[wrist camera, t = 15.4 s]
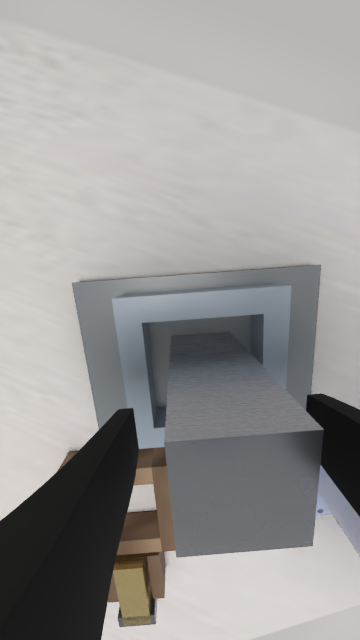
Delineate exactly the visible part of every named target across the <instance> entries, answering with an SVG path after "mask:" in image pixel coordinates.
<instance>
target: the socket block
mask: <svg viewBox="0 0 360 640" xmlns="http://www.w3.org/2000/svg"><path fill="white" fill-rule="evenodd" d="M77 452H78V451H75V452H69V453H68V455H67V456H66V458H65V460H64V461H63V463H62V465H61V466H60V468H59V470H60V469H61V468H62V467H63V466H64V465H65V464H66V463H67V462H68V461H69V460H70V459H71V458H72V457H73V456H74V455H75V454H76V453H77ZM59 470H58V471H59ZM58 471H57V472H58ZM143 484H154V492H155V500H156V508H157V511H148V512H136V513H127V514H126V518H125V522H124V527H123V531H122V535H121V539H120V543H119V547H118V551H117V555H126V554H138V553H147V561H148V567H149V574H150V581H151V588H152V594H153V599H156V598H164V593H165V559H164V551H175V550H176V548H175V539H174V529H173V520H172V510H171V501H170V492H169V482H168V473H167V464H166V454H165V447H157V448H145V449H139V454H138V461H137V469H136V475H135V481H134V485H143ZM108 602H119V599H118V594H117V589H116V584H115V579H114V574H112V579H111V584H110V590H109V595H108Z"/></svg>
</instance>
